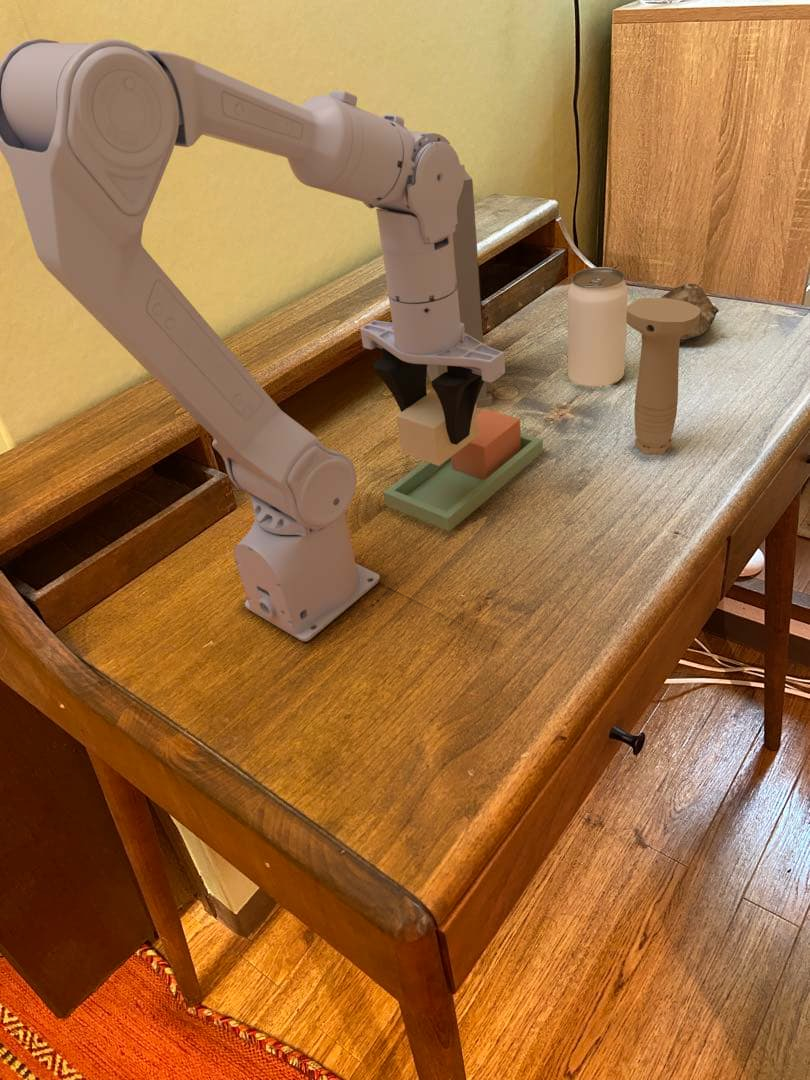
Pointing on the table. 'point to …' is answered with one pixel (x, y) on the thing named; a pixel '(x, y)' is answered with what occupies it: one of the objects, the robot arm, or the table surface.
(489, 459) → the orange red block
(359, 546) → the table surface
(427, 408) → the beige block
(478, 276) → the tall grey pillar
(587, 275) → the can
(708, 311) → the fossilized seashell
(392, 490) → the tray
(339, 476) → the robot arm
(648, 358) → the handle
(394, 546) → the table surface
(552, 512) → the table surface
